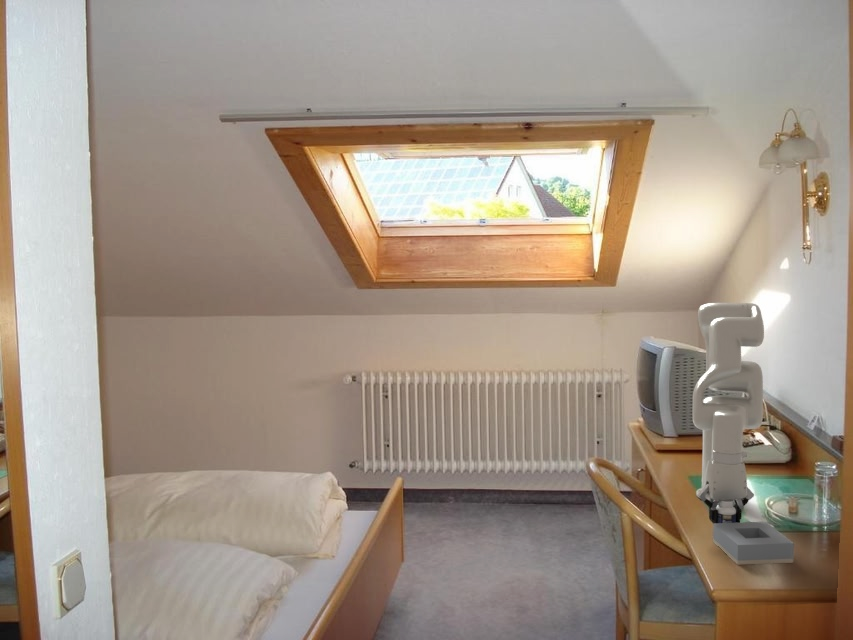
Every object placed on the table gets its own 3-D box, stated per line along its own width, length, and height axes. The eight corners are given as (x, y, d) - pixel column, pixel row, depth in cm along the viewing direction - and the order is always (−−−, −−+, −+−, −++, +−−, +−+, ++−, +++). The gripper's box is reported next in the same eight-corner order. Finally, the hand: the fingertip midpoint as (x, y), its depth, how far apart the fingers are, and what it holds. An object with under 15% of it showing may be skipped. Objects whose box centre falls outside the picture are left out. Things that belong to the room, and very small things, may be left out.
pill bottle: (722, 539, 197) (723, 503, 196) (709, 531, 202) (710, 497, 201) (739, 536, 199) (740, 501, 197) (726, 529, 204) (727, 494, 203)
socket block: (712, 541, 196) (713, 523, 195) (764, 540, 197) (765, 521, 196) (737, 564, 182) (737, 545, 181) (793, 562, 183) (793, 543, 182)
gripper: (751, 451, 202) (749, 515, 204) (689, 453, 201) (688, 518, 203) (765, 460, 195) (763, 526, 197) (700, 462, 194) (699, 529, 196)
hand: (724, 521), depth 200 cm, fingers closed on pill bottle, 5 cm apart
